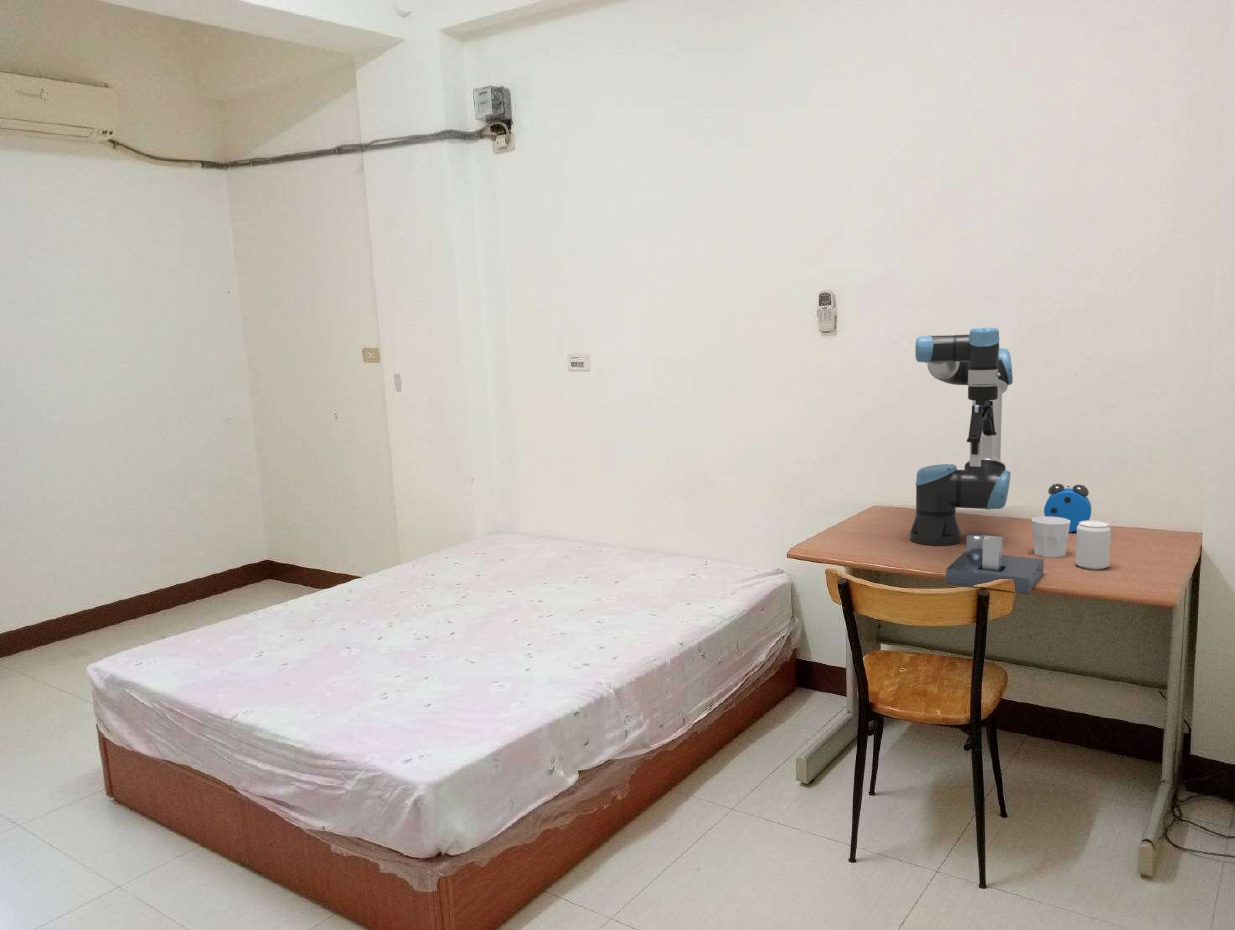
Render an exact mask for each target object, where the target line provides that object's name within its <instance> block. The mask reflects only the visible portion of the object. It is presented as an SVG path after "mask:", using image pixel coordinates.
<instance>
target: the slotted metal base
mask: <svg viewBox="0 0 1235 930" xmlns="http://www.w3.org/2000/svg"><path fill="white" fill-rule="evenodd" d="M985 536H986V534H984V533H979V532H975V533H974V532H973V533H972V532H971V533H967V534H966V550H965V551H964V552H963V553H962V554H961V555H960V556H958V557H957V558H956V559H955V560H954V561H953V562H952V563H951V564H950V565H949V566H948V567H946V568H945V570H946V571H945V584H946V585H953V586H962V587H968V586H974V585H977V584H982V583H987V582H991V581H994V580H998V579H1013V581H1014V584H1015V592H1014V593H1016V594H1025V595H1030V593H1031V592H1032V591H1033V589H1034V587H1035V586H1036V585H1037V584H1038V582H1039V580H1040V579H1041V577H1043V575H1044V567H1045V565H1044V564H1045V563H1044V562H1045V558H1043V559H1042V558H1035V557H1025V556H1015V555H1006V554H1002V572H997V571H988V570H982V557H983V538H984V537H985Z"/></svg>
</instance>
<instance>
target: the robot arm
mask: <svg viewBox="0 0 1235 930" xmlns="http://www.w3.org/2000/svg"><path fill="white" fill-rule="evenodd" d="M914 348H915V352H914V353H915V355H914V356H915V361H916V362H918V363H926V364H927V370H928V372H929V374H930V375H931V376H932V377H933V378H934V379H936V380H938V381H940V382H943V383H946V384H950V385H955V386H967V398H968V400H970V401H972V404H971V415H970V422H969V429H968V430H969V431H968V437H967V438H966V442H967V443H969V460H968V461H967V462H965V463H964V469H958V467H957V465H956V464H952V463H950V464H949V463H943V464H934V465H928V466H924V467H922V468H919V469H918V471H916V472H917V473H916V481H915V488H916V489H915V490H916V491H915V492H916V494H915V499H916V500H915V515H914V519H913V522H912V525H911V527H910V529H909V540H910V541H911V542H912V543H913V542H914V543H917V544H922V545H929V546H950V545H951V546H952V545H956V544H959V543H960V542H961V541H962V532H961V529H960V525H959V522H958V519H957V516H956V511H957V509H958V508H959V509H975V510H977V509H980V510H1000V509H1003V508H1004V507H1005V506H1006V504H1007V500H1008V495H1009V491H1010V490H1009V489H1010V482H1011V471H1009V470H1007V469H1006V464H1005V463H1004V462H1003V461H1001V453H1002V452H1001V450H1002V448H1001V447H1002V411H1003V410H1002V409H1003V394H1005V392H1006V391H1008V387H1009V386H1010V385H1013V381H1014V380H1013V379H1014V377H1013V366H1012V364H1013V363H1012V358H1011V353H1010V351H1009V349H1007V348H1005V347H1004V348H1002V347H1001V348H1000V330H999V329H998V328H997V327H973V328H971V329H970V330H969V333H968V334H951V335H930V334H928V335H923V336H918V337H916V340H915V347H914ZM956 508H957V509H956Z"/></svg>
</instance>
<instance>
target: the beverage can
mask: <svg viewBox="0 0 1235 930" xmlns="http://www.w3.org/2000/svg"><path fill="white" fill-rule="evenodd" d="M1075 537H1076V540H1075V541H1076V542H1075V564H1076V565H1077V566H1079V567H1080V568H1082V569H1086V570H1096V571H1098V570H1104V569H1106V568H1108V567H1109V566H1110V555H1111V553H1110V552H1111V527H1110V523H1108V522H1104V521H1101V520H1100V521H1099V520H1089V521H1081V522H1079V525H1078V526H1077V531H1076V535H1075Z"/></svg>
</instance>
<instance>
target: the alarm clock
mask: <svg viewBox="0 0 1235 930" xmlns="http://www.w3.org/2000/svg"><path fill="white" fill-rule="evenodd" d="M1066 487H1067V488H1065V486H1064V485H1063V484H1061V483H1052V485H1051V486H1050V487H1049V488H1048V491H1047V492H1048V494H1049V496H1048V498H1047V500H1046V502H1045V504H1044V507H1043V508H1044V509H1043V514H1044V515H1043V516H1044V517H1060V518H1065V519H1068V520H1070V527H1069V533H1072V532H1073V533H1074V532H1077V526H1078V525H1079V522H1081V521H1090V519H1091V515H1092V503H1091V501H1090V500H1089V498H1088V496H1089V494H1090V491H1089V489H1088V488H1087V487H1086V486H1085V485H1082V484H1074V486H1073V487H1072V488H1071V485H1066Z"/></svg>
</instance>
